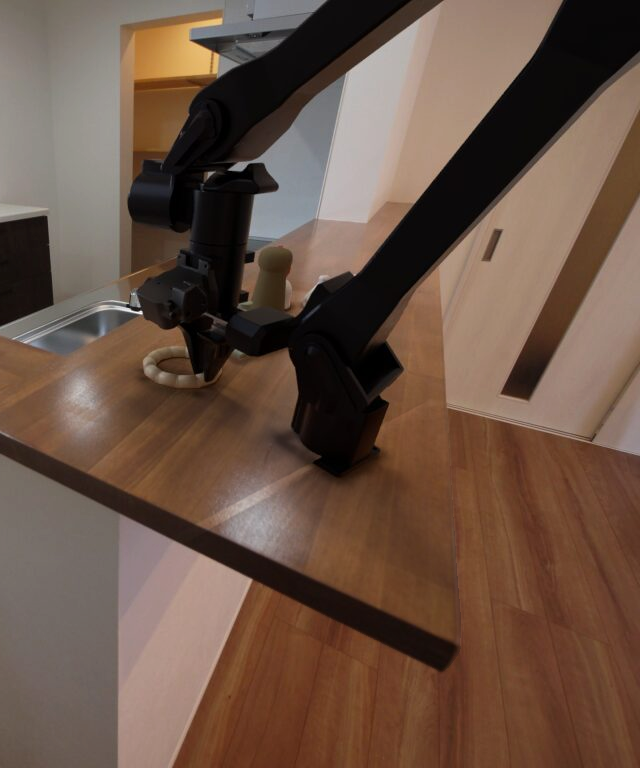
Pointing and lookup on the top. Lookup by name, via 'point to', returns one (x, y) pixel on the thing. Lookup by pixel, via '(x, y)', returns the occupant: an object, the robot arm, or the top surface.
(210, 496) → the top surface
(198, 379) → the ring
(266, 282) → the olive pepper mill
